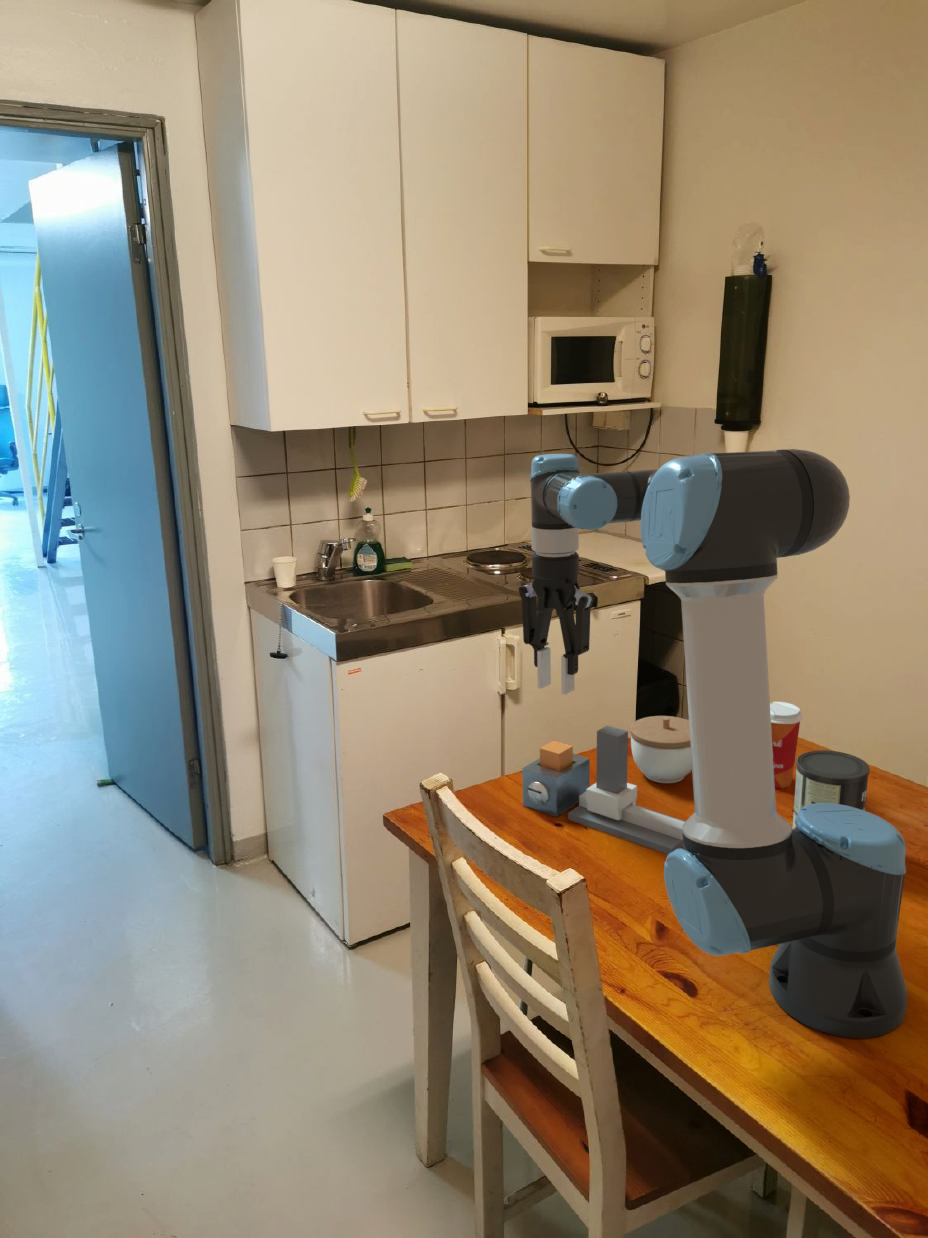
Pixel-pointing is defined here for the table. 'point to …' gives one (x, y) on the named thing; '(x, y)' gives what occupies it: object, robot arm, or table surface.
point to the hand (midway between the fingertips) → (556, 688)
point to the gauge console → (555, 786)
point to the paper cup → (784, 741)
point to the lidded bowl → (662, 748)
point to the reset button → (556, 756)
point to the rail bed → (634, 826)
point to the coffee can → (830, 780)
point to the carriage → (611, 775)
